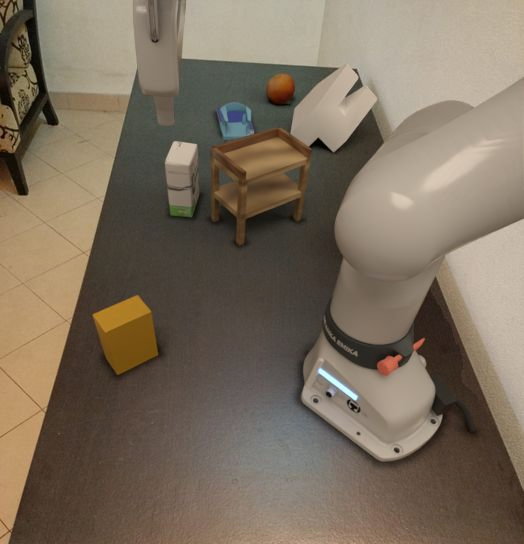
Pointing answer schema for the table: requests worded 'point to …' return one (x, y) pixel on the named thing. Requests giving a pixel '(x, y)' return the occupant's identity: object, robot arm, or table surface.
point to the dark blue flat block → (234, 118)
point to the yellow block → (126, 334)
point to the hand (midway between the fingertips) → (168, 102)
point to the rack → (258, 175)
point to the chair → (235, 129)
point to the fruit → (280, 89)
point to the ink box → (182, 178)
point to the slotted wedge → (332, 110)
